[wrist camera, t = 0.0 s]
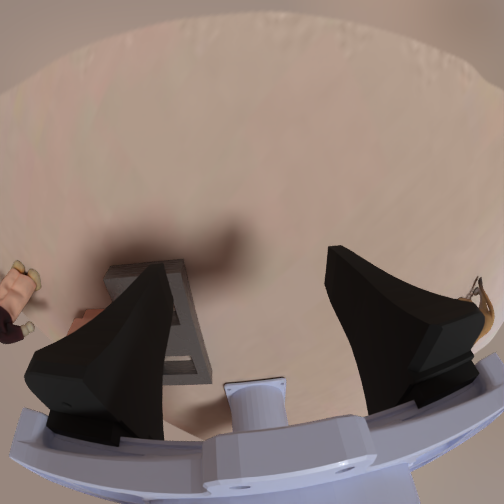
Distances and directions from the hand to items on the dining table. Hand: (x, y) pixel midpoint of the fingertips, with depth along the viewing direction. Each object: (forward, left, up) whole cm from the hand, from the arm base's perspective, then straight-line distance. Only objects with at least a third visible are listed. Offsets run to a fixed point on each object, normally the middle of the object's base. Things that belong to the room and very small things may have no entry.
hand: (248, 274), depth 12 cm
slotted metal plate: (-13, +8, -10) cm, 19 cm away
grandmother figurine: (-5, +23, -10) cm, 26 cm away
